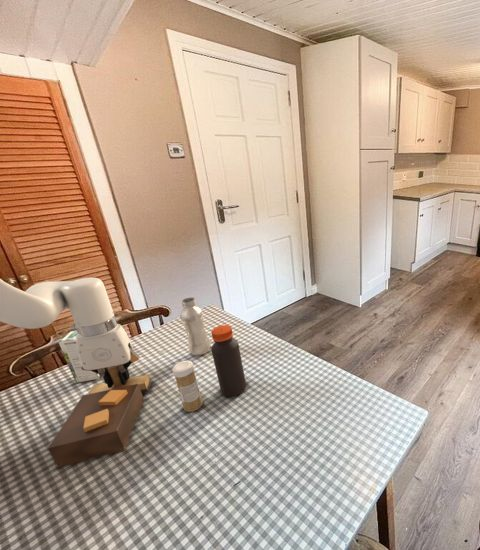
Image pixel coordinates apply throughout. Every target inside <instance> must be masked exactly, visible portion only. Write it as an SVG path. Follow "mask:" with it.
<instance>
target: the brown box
mask: <svg viewBox="0 0 480 550" xmlns="http://www.w3.org/2000/svg"><path fill="white" fill-rule="evenodd" d="M111 390H127V393H128V394H127V395H126V396H125V397H124V398H123V399H122V400H121V401H120V402H119V403H118V404H117V405H99V401H100V400H101V399H102V398H103V397H104V396H105V395H106V394H107V393H108V392H109V391H110V390H106V391H102V392H97V393H92V394H89V393H87V394H83V395H82V396H81V397H80V399H79V400H78V402H77V403H76V404H75V407H74V408H73V410H72V411H71V412H70V414H69V416H68V417H67V418H66V420H65V421H64V423H63V424H62V426H61V428H60V429H59V431H58V432H57V434H56V435H55V436H54V438H53V440H52V441H51V443H50V444H49V446H48V447H47V451H48V452H49V454H50V456H51V457H52V459H53V461H54V463H55V465H56V466H57V468H58V469H60V468H65V467H67V466H71V465H74V464H75V465H76V464H78V463H82V462H86V461H90V460H94V459H97V458H101V457H104V456H107V455H112V454H114V453H120V452H123V451H125V450H126V449H127V445H128V443H129V440H130V438H131V436H132V432H133V430H134V428H135V425H136V423H137V420H138V418H139V415H140V413H141V410H142V408H143V405H144V403H145V400H144V399H145V398H144V396H143V394H142V393H141V390H140V387H139V384H134V385H130V386H125V387H120V388H116V389H111ZM105 409H108V411H109V418H108V424H106V425H103V426H100V427H98V428H95V429H92V430H90V431H87V432H85V431H84V429H83V427H84V422H85V417H86V416H88V415H91V414H94V413H97V412H100V411H102V410H105Z"/></svg>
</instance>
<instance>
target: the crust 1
mask: <svg viewBox="0 0 480 550" xmlns="http://www.w3.org/2000/svg"><path fill="white" fill-rule="evenodd" d="M108 418H109V411H108V409H105V410H102V411H100V412H97V413H94V414H91V415H88V416H86V417H85V422H84V427H83V429H84V431H85V432H87V431H90V430H92V429H95V428H98V427H100V426H103V425H106V424H108Z"/></svg>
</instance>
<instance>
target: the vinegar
mask: <svg viewBox="0 0 480 550" xmlns="http://www.w3.org/2000/svg"><path fill="white" fill-rule="evenodd" d="M210 333H211V337H212V340H213V344H212V346H211V347H210V350H211V355H212V359H213V363H214V364H213V365H214V368H215V372H216V377H217V381H218V384H219V389H220V394H221V395H222V396H223V397H225V398H232V397H237V396H238V395H240V394H242V393H243V392H244V391H245V390H246V388H247V382H246V377H245V371H244V365H243V360H242V355H241V351H240V345H239V344H240V343H239V341H238V340H237V339H235V338H233V337H234V333H233V329H232V326H231V325H228V324H222V325H217V326H216V327H213V329H212V330H211V332H210Z"/></svg>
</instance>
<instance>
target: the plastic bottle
mask: <svg viewBox="0 0 480 550" xmlns="http://www.w3.org/2000/svg"><path fill="white" fill-rule="evenodd" d="M181 306H182V308H183V309H182V310H181V313H180V316H179V318H180V321H181V324H182V325H183V327H184V330H185V332H186V335H187V342H188V344H187V345H188V347H187V348H188V351H189V353H190V354H191V355H193V356H202V355H204V354H207V353H208V352H209V351H210V350H211V341H210V339H209V336H208V334H207V331H206V328H205V323H204V312H203V310H202V308H200V307H199V306H198V305H197V301H196V299H195V297H186V298H183V299H182V300H181Z"/></svg>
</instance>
